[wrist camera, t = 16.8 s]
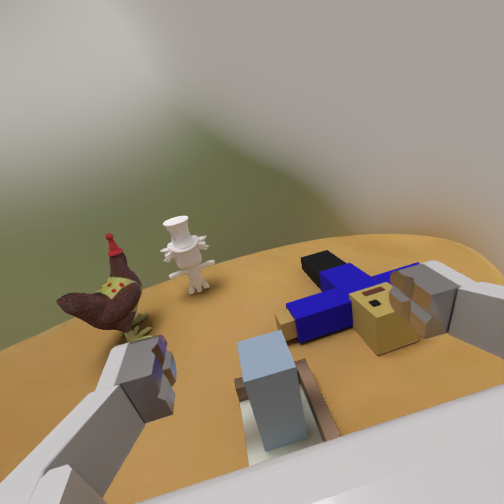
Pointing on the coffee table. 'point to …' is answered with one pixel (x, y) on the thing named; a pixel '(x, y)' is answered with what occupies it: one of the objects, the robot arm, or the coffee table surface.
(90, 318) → the figurine
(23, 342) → the coffee table surface
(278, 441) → the block
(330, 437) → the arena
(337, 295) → the toy
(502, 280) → the coffee table surface
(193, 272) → the figurine
